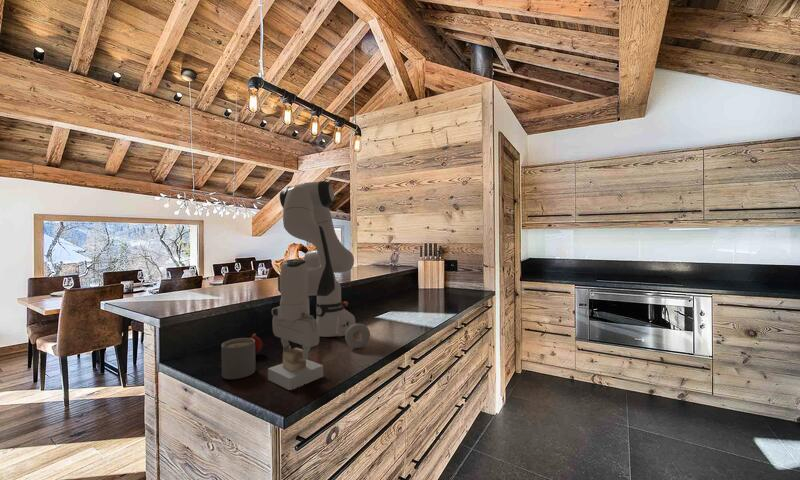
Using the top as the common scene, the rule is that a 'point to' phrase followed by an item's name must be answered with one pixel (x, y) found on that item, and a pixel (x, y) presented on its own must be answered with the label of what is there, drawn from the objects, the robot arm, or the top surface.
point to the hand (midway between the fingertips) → (295, 354)
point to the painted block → (295, 375)
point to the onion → (257, 343)
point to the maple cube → (293, 359)
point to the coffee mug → (238, 358)
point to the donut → (352, 330)
